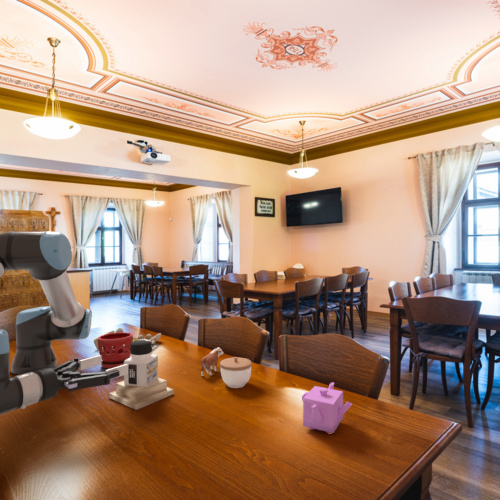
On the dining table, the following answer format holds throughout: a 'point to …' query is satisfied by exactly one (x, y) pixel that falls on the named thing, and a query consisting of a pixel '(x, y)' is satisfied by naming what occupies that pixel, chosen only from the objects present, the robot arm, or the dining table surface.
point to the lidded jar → (235, 371)
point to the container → (141, 364)
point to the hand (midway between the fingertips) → (113, 364)
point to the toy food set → (133, 338)
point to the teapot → (323, 408)
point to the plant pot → (114, 348)
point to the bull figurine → (210, 361)
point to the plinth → (141, 403)
